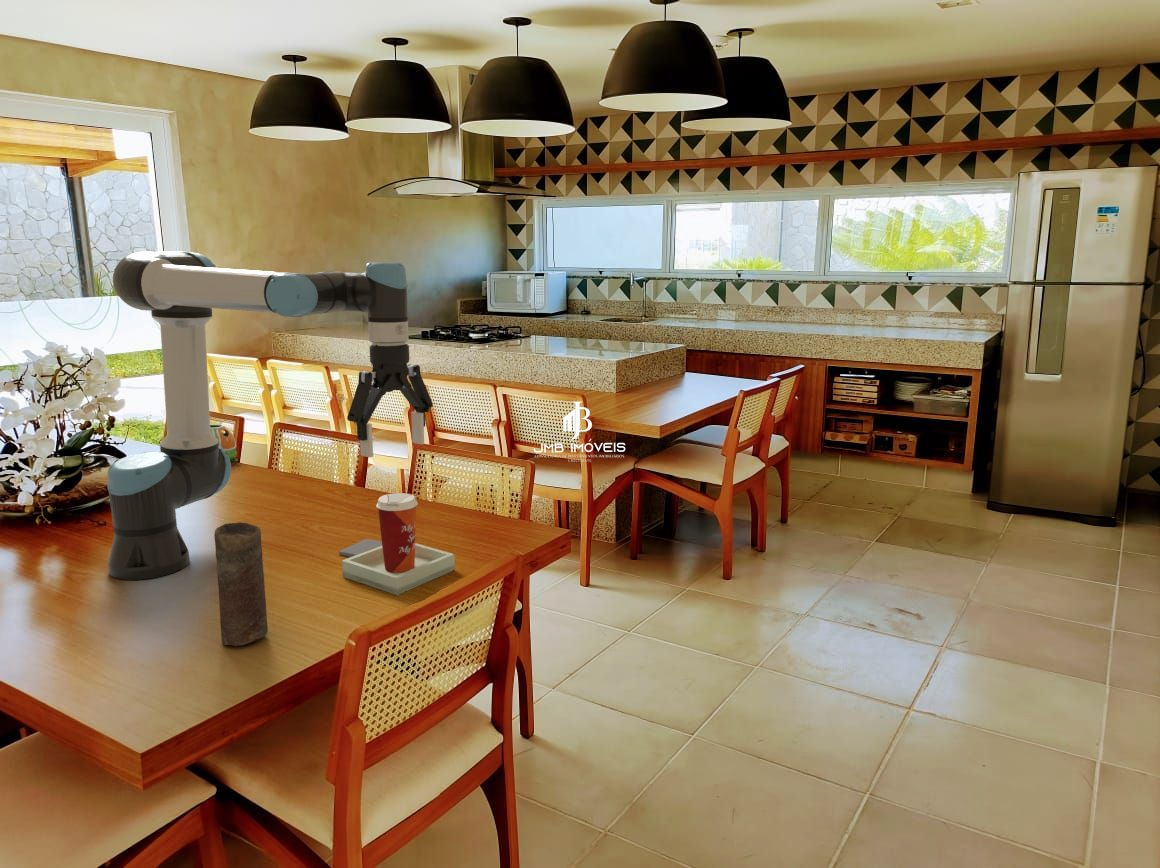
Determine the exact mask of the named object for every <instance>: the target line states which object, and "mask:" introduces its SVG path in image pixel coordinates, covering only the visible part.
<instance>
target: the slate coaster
mask: <svg viewBox="0 0 1160 868" xmlns="http://www.w3.org/2000/svg"><path fill="white" fill-rule="evenodd" d="M380 546H382V540H381V541H380V540H374V539H370V538H364V539H362V540H361V541H358V542H356V543H354V544H352V545H349V546H348V547H345V548H343V549H340V550H339V551H338V554H339V555H340V556H343V557H348V558H350V557H353V556H356V555H358V554H361V553H364V552H366V551H369V550H372V549H375V548H377V547H380Z"/></svg>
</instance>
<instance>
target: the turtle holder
mask: <svg viewBox="0 0 1160 868" xmlns="http://www.w3.org/2000/svg"><path fill="white" fill-rule="evenodd" d="M210 433H211V434H212V435H213V436H214V437H216V438H217V439H218V444H219V446H220V447H222V448H223V449H224V450H225V454H226V455H228V457H229V459H230V462H235V463H236V462H238V461H239V460H238V458H236V457H237V456H238V452H237V441H236V439H235V437H234V435H233V433H232V431H230V430H229V429H228V428H227V427H226V425H224V424H215V423H212V424H211V423H210Z"/></svg>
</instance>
